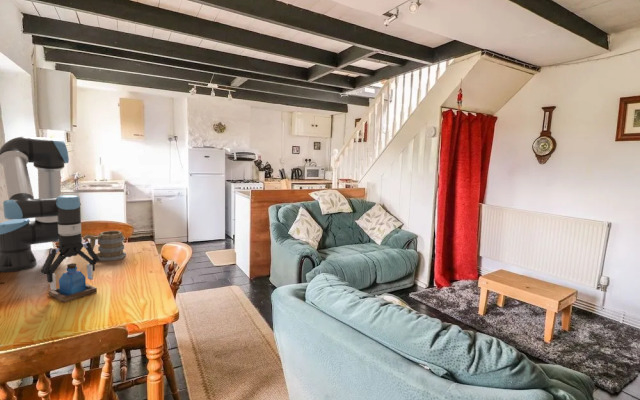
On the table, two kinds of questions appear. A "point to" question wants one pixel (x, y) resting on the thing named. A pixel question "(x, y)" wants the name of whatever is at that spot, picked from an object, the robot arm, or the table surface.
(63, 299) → the walnut tray
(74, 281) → the perfume bottle
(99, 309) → the table surface
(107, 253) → the tankard
